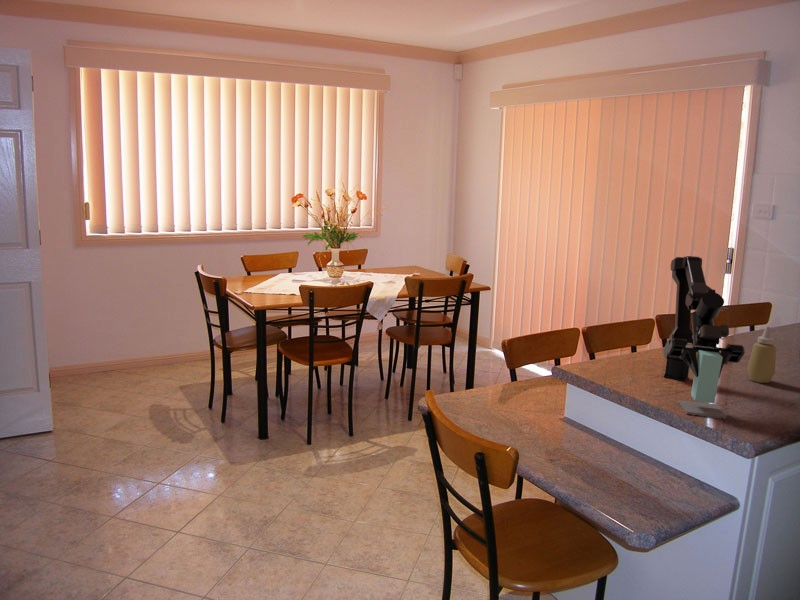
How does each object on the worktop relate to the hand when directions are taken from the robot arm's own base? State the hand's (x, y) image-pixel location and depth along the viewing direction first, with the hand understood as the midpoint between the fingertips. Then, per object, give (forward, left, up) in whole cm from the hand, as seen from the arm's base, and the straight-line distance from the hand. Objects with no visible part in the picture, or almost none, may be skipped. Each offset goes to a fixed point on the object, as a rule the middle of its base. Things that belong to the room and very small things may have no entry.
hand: (707, 377), depth 181 cm
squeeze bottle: (+10, +48, -10) cm, 50 cm away
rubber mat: (0, +1, -10) cm, 10 cm away
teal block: (-1, +1, -7) cm, 7 cm away
